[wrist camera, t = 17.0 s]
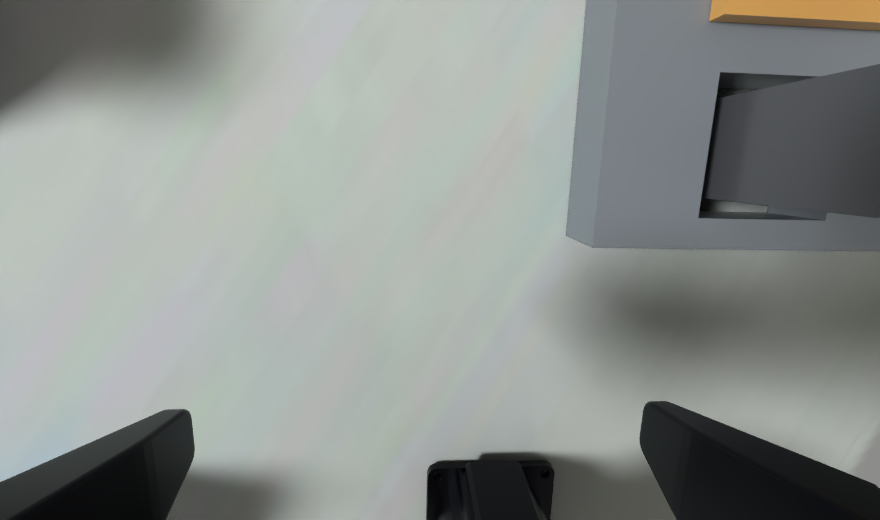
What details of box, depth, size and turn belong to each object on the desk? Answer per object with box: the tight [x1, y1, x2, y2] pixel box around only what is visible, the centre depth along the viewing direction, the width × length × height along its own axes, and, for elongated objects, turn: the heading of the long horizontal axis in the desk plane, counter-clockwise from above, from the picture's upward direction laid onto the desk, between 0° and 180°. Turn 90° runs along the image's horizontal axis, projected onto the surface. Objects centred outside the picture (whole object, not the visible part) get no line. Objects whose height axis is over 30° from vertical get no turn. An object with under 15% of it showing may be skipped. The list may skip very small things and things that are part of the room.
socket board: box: [566, 0, 880, 251], centre depth 18 cm, size 15×14×3 cm
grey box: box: [701, 64, 880, 218], centre depth 16 cm, size 4×4×9 cm
